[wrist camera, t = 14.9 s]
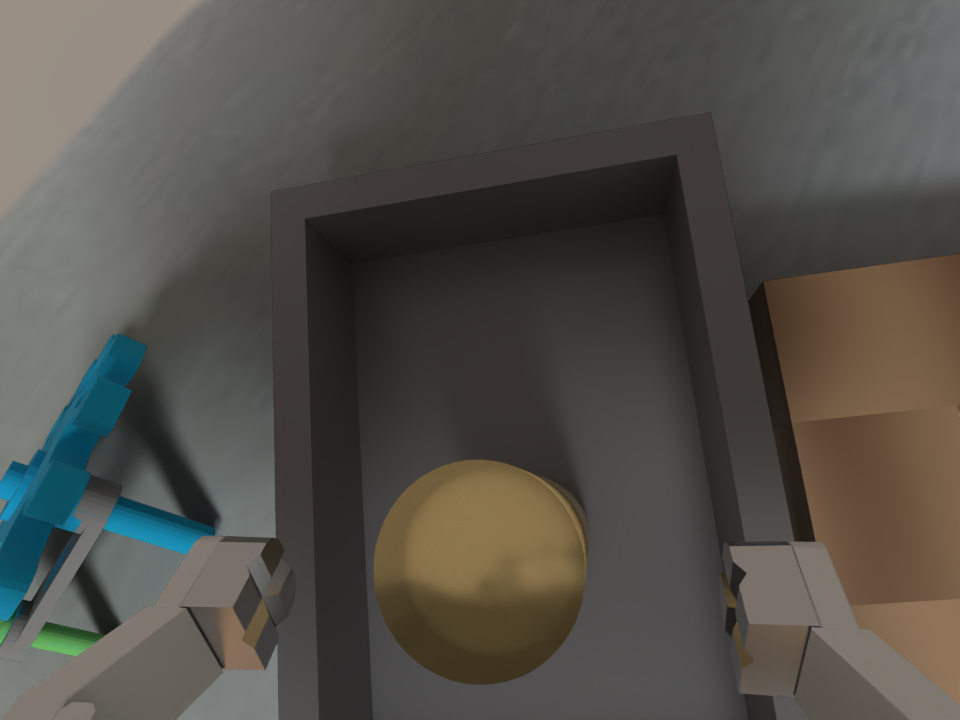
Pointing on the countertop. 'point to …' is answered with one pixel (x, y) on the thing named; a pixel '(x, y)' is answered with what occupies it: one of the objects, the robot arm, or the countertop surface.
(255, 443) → the countertop surface
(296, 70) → the countertop surface
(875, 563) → the block
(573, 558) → the pin
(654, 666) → the tray
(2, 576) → the blue notched toy part
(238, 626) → the robot arm
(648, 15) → the countertop surface
